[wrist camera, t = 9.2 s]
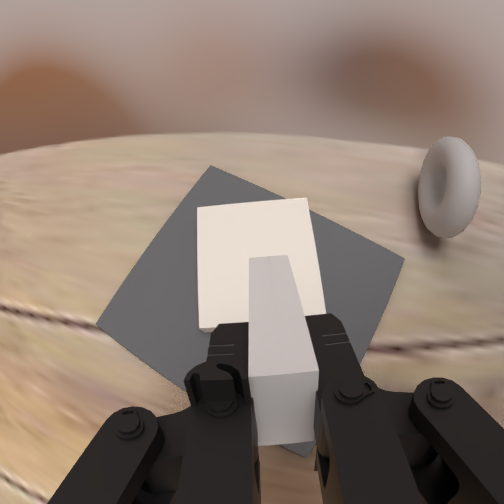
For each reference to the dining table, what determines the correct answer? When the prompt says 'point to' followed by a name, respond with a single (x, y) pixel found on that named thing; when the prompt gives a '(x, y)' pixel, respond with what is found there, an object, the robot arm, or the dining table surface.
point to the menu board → (252, 256)
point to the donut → (449, 187)
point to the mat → (186, 285)
